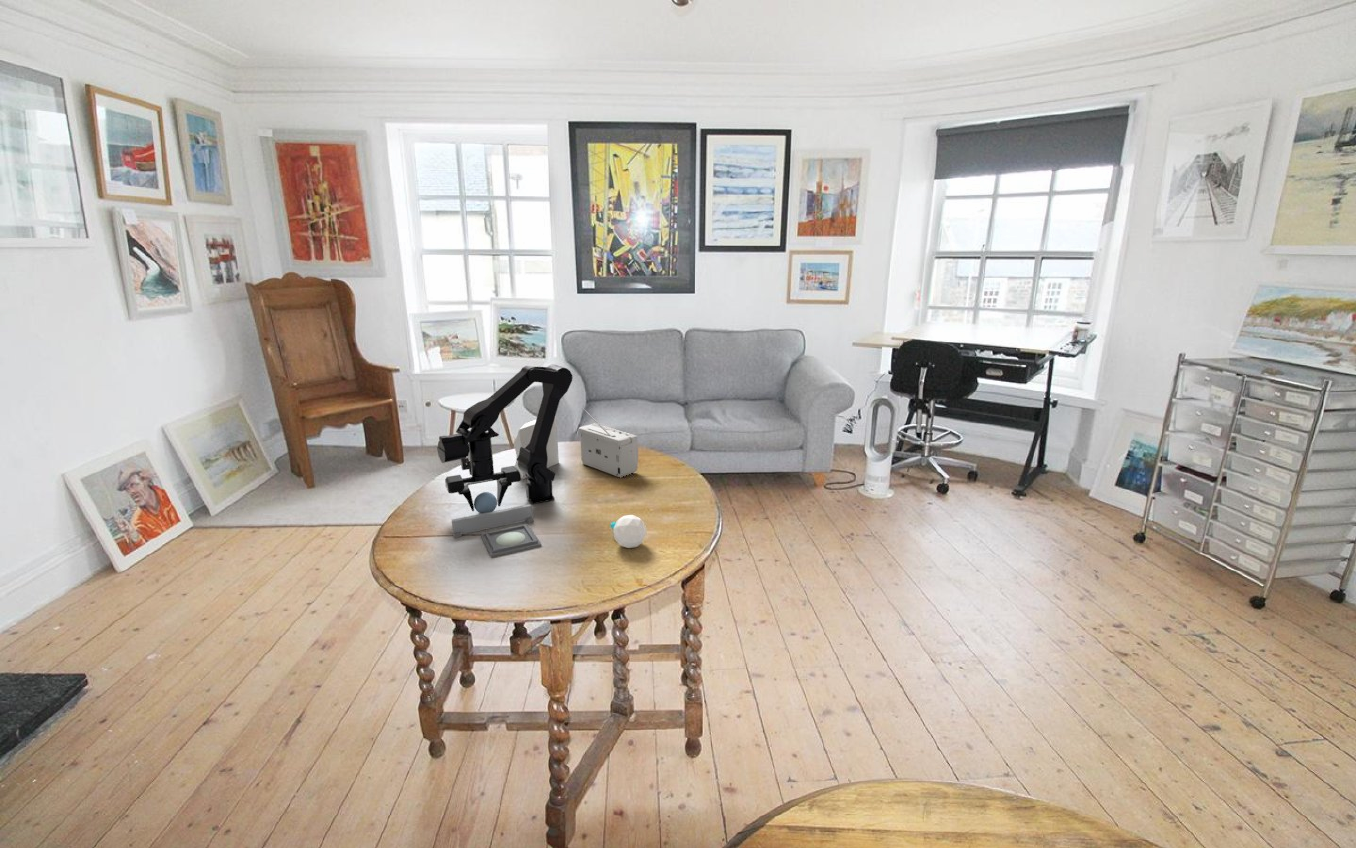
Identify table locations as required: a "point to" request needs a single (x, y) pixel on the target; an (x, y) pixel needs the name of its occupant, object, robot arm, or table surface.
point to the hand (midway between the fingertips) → (486, 508)
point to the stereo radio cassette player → (608, 449)
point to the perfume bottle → (629, 531)
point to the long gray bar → (491, 520)
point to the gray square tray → (510, 540)
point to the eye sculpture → (524, 440)
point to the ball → (485, 502)
